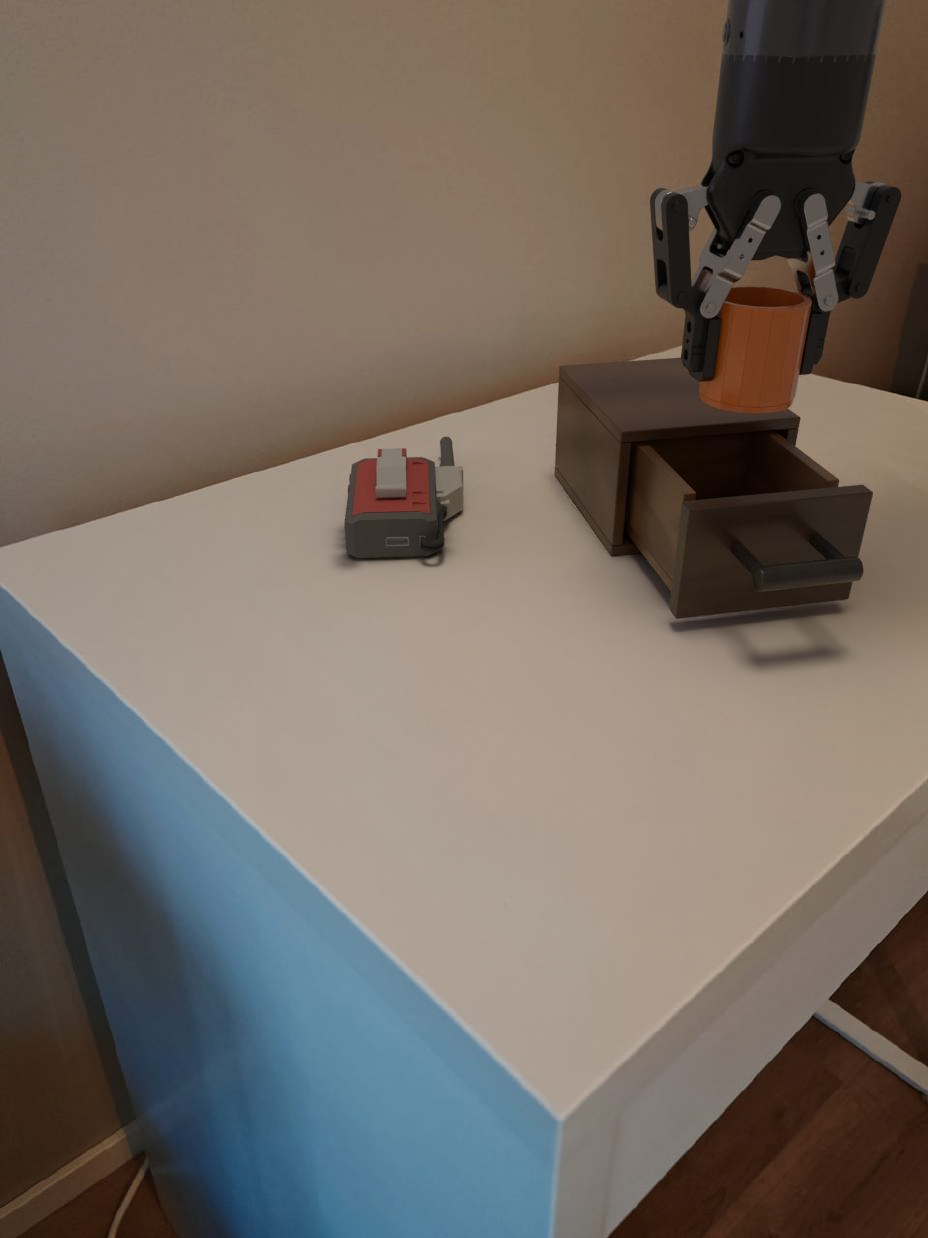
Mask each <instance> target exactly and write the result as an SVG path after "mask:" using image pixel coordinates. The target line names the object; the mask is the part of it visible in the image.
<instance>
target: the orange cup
mask: <svg viewBox="0 0 928 1238" xmlns="http://www.w3.org/2000/svg"><path fill="white" fill-rule="evenodd" d="M811 305H812V300H811V298H810V296H808V295H806V294H804V293H802V292H799V291H797V290H795V289H790V288H786V287H778V286H771V285H755V284H754V285H751V284H750V285H749V284H748V285H733V286H732V288H731V290H730V292H729V294H728V296H727V298H726V300H725V302H724V303H723V305H722V307H721V309H720V311H719V313H718V314H717V315H716V316H717V317H719V318H720V319H721V325H720V333H719V340H718V348H717V355H716V363H715V370H714V377H713V379H712V381H705V382H699V391H698V396H699V398H700V400H701V401H703V402H704V403H706V404H708V405H710V406H712V407H715V408H718V409H722V410H726V411H732V412H739V413H752V414H761V413H772V412H778V411H782V410H785V409H787V408H788V409H789V408H790V407H792V406H793V405H794V400H795V397H796V395H797V393H796V392H797V388H798V382H799V377H800V375H799V372H800V367H801V361H802V355H803V350H804V344H805V339H806V333H807V327H808V322H809V316H810V311H811Z"/></svg>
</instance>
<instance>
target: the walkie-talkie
mask: <svg viewBox="0 0 928 1238" xmlns="http://www.w3.org/2000/svg"><path fill="white" fill-rule="evenodd" d="M439 447H440V461H441V465H440V466H439V465H438V466H436V463H435V461H433V460H431V459H428V458H426V457H423V456H410V457H409V456H408V455H407V454H408V453H407V448H405V447H404V448H403V447H402V448H401V447H400V448H377V457H370V458H368V457H367V458H366V457H365V458H363V459H361V460H358V461H356V462H354V463H352V464H351V468H350V474H349V476H348V477H349V478H348V481H349V482H348V485H347V500H346V508H345V515H344V517H345V518H344V522H343V523H344V536H345V549H346V554H348V555H349V556H352V557H354V558H356V559H384V558H385V559H386V558H387V559H388V558H389V559H390V558H391V559H392V558H416V557H417V558H421V557H426V558H427V557H429V556H431V555H433V554H434V553H437V552H440V551H442V550H443V548H444V546H445V533H444V532H445V530H444V521H447V520H448V519H450V518H452V517H453V516H455V515H456V514H457V513H460V512H461V511H462V510H463V508H464V469H463V468H464V467H463V466H462V465H455V457H454V448H453V439H452V438H451V437H449V436H443V437H441V439H440V440H439Z"/></svg>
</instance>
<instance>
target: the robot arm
mask: <svg viewBox="0 0 928 1238" xmlns="http://www.w3.org/2000/svg"><path fill="white" fill-rule="evenodd" d="M886 4H887V0H728V1H727V8H726V18H725V22H724V24H723V28H722V33H721V40H722V53H721V59H720V68H719V77H718V87H717V95H716V104H715V110H714V111H715V113H714V121H713V128H712V129H713V130H712V137H711V160H710V163H709V166H708V169H707V171H706V172H705V174H704V176H703V178H702V180H701V182H700V184H698V185H694V186H689V187H685V188H681V189H676V190H670V189H667V188H665V187H658V188H656V189H655V190H654V191H653V192H652V193H651V195H650V198H649V210H650V212H649V213H650V226H651V240H652V257H653V270H654V287H655V293H656V295H657V296H658V297H659V298H660V299H662V300H664V301H665V302H666V303H668V304H670V305H671V306H673V307H674V308H676V309H682V310H683V311H684V314H685V315H684V317H685V318H684V326H683V334H682V343H681V351H680V352H681V353H680V358H681V360H682V363H683V366H684V367H686V368H687V369H688V371H689V374H690V375H691V376H692V377H693V378H695V379H696V380H697V381H698V382H705V381H712V379H713V377H714V370H715V363H716V355H717V348H718V340H719V333H720V325H721V319H720V318H719V317H717V316H716V315H717V314H718V313H719V311H720V309H721V307H722V305H723V303H724V302H725V300H726V298H727V296H728V294H729V292H730V290H731V288H732V286H735V284H736V283H737V282H738V281H740V280H742V278H743V276H744V275H745V273H746V271H747V269H748V267H749V265H750V264H751V262H753V261H764V260H767V259H769V258H773V257H781V258H784V259H786V263H787V264H788V266H789V267H790V269H791V270H792V274H793V278H794V283H795V287H796V291H799V292H802V293H804V294H806V295H808V296H810V298H811V300H812V305H811V311H810V316H809V322H808V327H807V333H806V339H805V344H804V350H803V355H802V361H801V367H800V372H799V376H805V375H806V376H807V375H808V376H809V375H811V374H812V372H813V368H814V365H818V364H819V362H820V360H821V358H822V357H823V353H824V347H825V342H826V336H827V332H828V331H827V330H828V327H829V326H828V325H829V320H830V316H831V312H832V311H833V310H834V309H835V307H836V306H837V305H838V304H839V303H842V302H844V301H846V300H849V299H851V298H852V299H855V300H859V299H862V298H863V297H865V296H866V294H867V293H868V291H869V289H870V286H871V284H872V281H873V279H874V275H875V272H876V270H877V267H878V264H879V261H880V258H881V256H882V253H883V250H884V248H885V244H886V242H887V239H888V237H889V234H890V231H891V228H892V225H893V221H894V219H895V217H896V214H897V212H898V208H899V205H900V203H901V200H902V192H901V189H900V188H899V187H897V186H894V185H890V184H889V183H888V184H887V183H883V182H879V181H871V180H867V181H865V182H862V181H857V180H856V175H855V173H854V168H853V156H854V154H855V151H856V149H857V147H858V146H859V144H860V142H861V139H862V133H863V126H864V122H865V117H866V116H865V115H866V110H867V106H868V100H869V94H870V88H871V83H872V79H873V73H874V67H875V63H876V57H877V52H878V47H879V42H880V36H881V31H882V25H883V22H884V21H883V20H884V15H885V10H886ZM703 208H704V210H705V212H706V214H707V216H708V218H709V219H710V221H711V223H712V225H713V229H712V231H711V233H710V235H709V237H708V239H707V240H706V243H705V245H704V247H703V249H702V251H701V253H700V255H699V258H698V267H697V270H696V271H695V273H694V276H693V278H692V266H691V265H692V264H691V244H690V243H691V242H690V240H691V239H690V232H691V231H693V230H694V229H695V227H696V226H697V223H698V217H699V213H700V212H701V210H702V209H703ZM844 208H845V209H844ZM843 210H844V212H845V217H846V219H847V221H846V222H847V223H846V225H845V228H844V231H843V234H842V237H841V240H840V243H839V246H838V249H837V252H836V254H835V252H834V248H833V243H832V238H831V234H830V228H829V227H830V226H831V225H832V223H833V222H834V221H835V220H836V219H837V218H838V216H839V215H840V214H841V213H842V211H843Z"/></svg>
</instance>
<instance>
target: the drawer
mask: <svg viewBox="0 0 928 1238" xmlns="http://www.w3.org/2000/svg"><path fill="white" fill-rule="evenodd" d="M839 484H840V479H839V478H838V477H837V476H836V475H834V474H833V473H831V472H830V471H829V470H828V469H826V468H825V467H824V466H822V465H821V464H820V463H818V462H817V461H815V460H814V459H813V458H812V457H810V456H809V455H808V454H806V453H805V452H803V451H802V450H801V449H800V448H799V447H797V445H796V446H794V445H793V444H792V443H790V442H789V441H788V440H786V439H785V438H784V437H782V436H781V435H780V434H778V433H777V432H776V431H774V430H770V431H758V432H745V433H733V434H721V435H709V436H697V437H685V438H673V439H661V440H649V441H637V442H631V453H630V465H629V476H628V488H627V499H626V510H625V522H624V530H625V532H626V533H627V534H628V536H629V537H630V538H631V540H632V541H633V542H634V544H635V545H636V546H637V548H638V549H639V550H640V551H641V553H640V554H642V556H643V557H644V559H645V560H646V561H647V562H648V564H649V565H650V566H651V567H652V569H653V571H654V572H655V573H656V574H657V575H658V577H659V578H660V579H661V581H662V582H663V583H664V585H665V586H666V587H667V588H668V590H669V591H670V599H669V600H670V601H669V606H668V607H669V608H668V609H669V611H670V613H671V614H672V615H673V617H674V618H675V619H676V620H677V619H678V620H680V619H681V620H682V619H689V618H696V617H706V616H714V615H723V614H732V613H733V614H734V613H741V612H749V611H750V612H751V611H759V610H768V609H776V608H785V607H793V606H802V605H811V604H819V603H820V604H821V603H828V602H837V601H846V600H847V601H848V600H849V598H850V595H851V592H852V591H851V590H852V586H853V582H858V581H860V580H862V578H863V575H864V564H863V561H862V560H861V558H860V557H859V556H860V552H861V547H862V543H863V539H864V534H865V530H866V526H867V522H868V517H869V514H870V509H871V504H872V499H873V495H874V491H872V490H871V489H870V488H868V487H867V486H865V484H853V485H844V486H843V485H842V486H839Z"/></svg>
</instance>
